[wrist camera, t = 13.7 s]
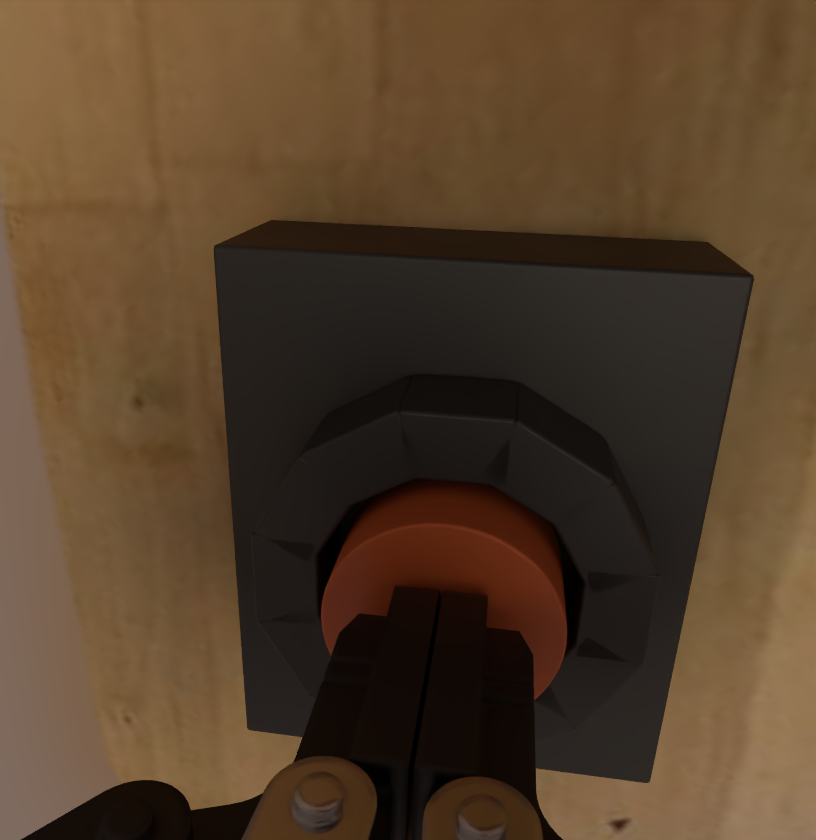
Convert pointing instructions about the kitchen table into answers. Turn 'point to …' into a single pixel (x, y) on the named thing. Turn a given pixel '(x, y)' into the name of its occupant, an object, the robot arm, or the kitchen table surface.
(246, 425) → the push button box
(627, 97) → the kitchen table surface
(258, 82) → the kitchen table surface
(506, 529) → the round orange push button
